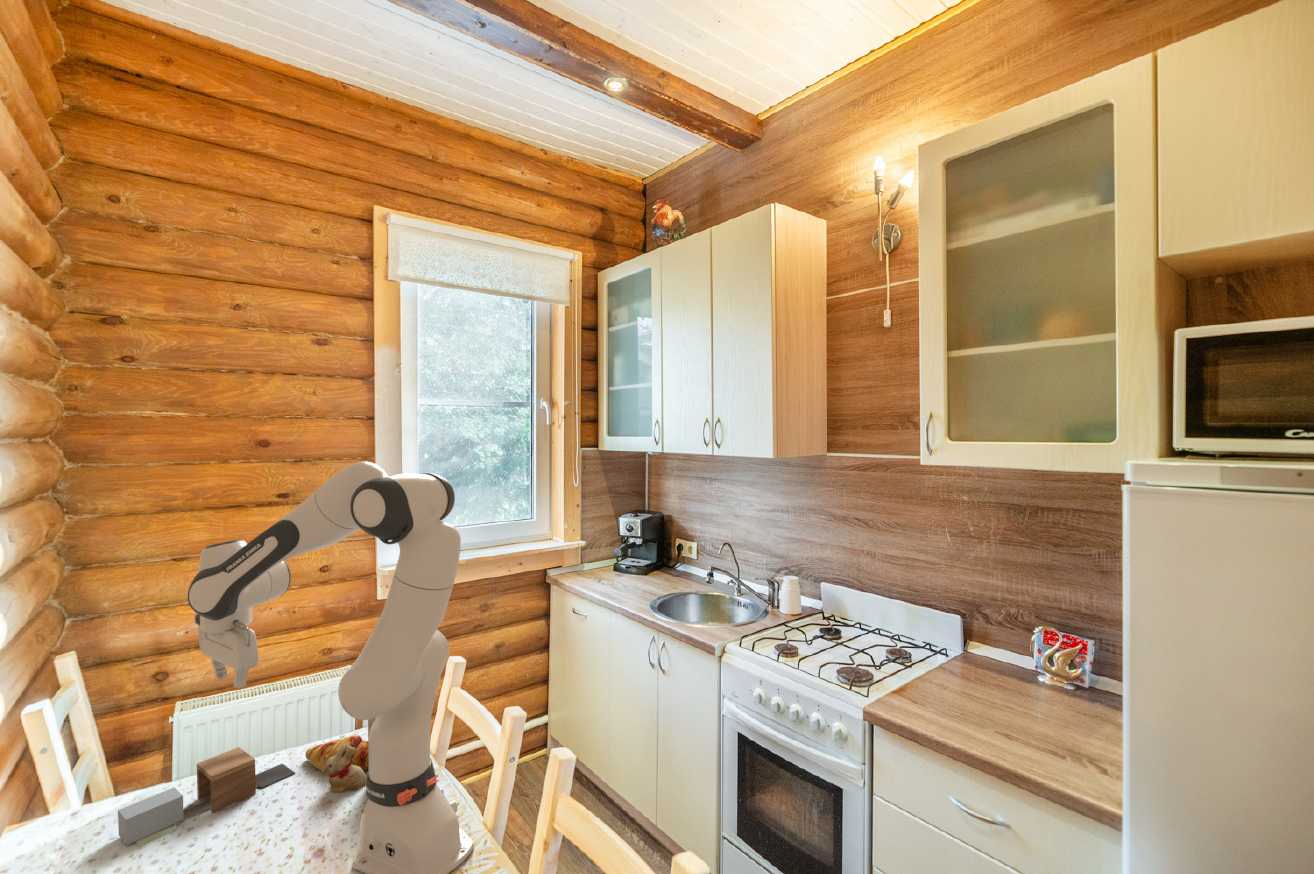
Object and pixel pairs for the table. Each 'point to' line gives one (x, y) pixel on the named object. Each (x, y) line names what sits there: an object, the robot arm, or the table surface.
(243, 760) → the tunnel
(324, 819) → the table surface
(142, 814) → the block
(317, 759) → the croissant
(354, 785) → the chocolate bunny
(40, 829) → the table surface
